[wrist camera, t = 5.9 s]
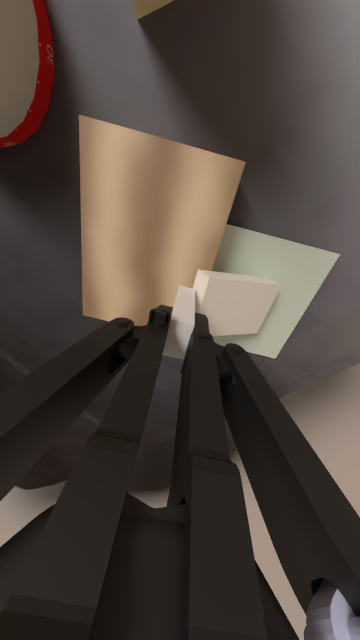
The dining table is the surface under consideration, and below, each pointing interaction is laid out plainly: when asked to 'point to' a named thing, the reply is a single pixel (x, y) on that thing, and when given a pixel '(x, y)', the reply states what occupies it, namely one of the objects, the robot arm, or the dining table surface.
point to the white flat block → (233, 301)
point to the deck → (147, 217)
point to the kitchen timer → (24, 68)
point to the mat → (279, 266)
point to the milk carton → (148, 6)
